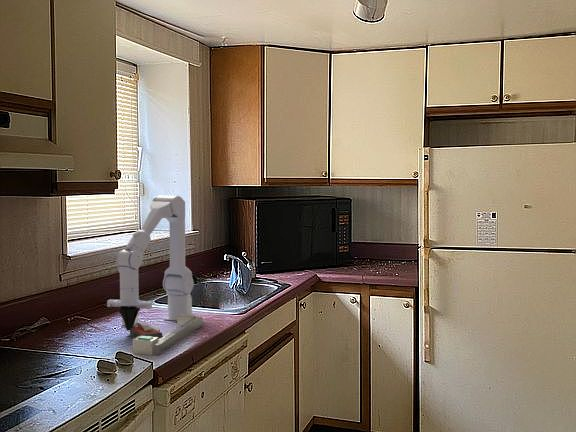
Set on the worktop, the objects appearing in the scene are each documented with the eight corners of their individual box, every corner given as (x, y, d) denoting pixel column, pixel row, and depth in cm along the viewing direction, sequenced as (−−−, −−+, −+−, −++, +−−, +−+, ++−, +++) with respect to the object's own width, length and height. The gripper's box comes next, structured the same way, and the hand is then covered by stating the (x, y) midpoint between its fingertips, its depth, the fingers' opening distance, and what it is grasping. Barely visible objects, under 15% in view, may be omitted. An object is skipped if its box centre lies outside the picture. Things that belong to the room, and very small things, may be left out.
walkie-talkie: (171, 341, 188) (146, 328, 204) (171, 327, 188) (145, 315, 204) (144, 346, 183) (120, 331, 199) (144, 331, 183) (120, 318, 199)
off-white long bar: (179, 324, 208) (179, 311, 208) (201, 325, 207) (201, 312, 206) (132, 353, 174) (132, 338, 174) (159, 355, 173) (158, 340, 172)
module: (126, 322, 211) (126, 310, 211) (138, 322, 211) (138, 310, 210) (122, 325, 206) (122, 314, 206) (133, 326, 206) (133, 314, 206)
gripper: (102, 288, 191) (102, 331, 192) (145, 291, 188) (145, 334, 189) (113, 284, 198) (113, 326, 199) (154, 286, 195) (155, 328, 196)
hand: (129, 329), depth 195 cm, fingers closed
